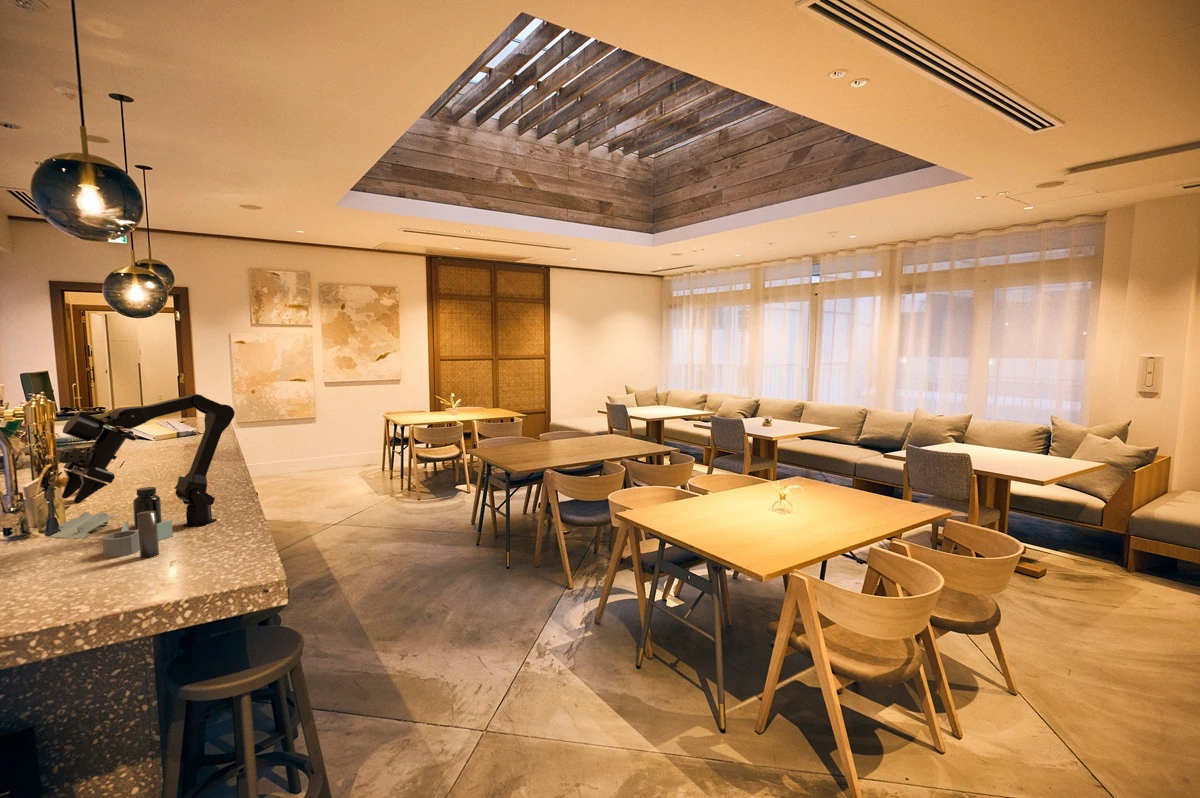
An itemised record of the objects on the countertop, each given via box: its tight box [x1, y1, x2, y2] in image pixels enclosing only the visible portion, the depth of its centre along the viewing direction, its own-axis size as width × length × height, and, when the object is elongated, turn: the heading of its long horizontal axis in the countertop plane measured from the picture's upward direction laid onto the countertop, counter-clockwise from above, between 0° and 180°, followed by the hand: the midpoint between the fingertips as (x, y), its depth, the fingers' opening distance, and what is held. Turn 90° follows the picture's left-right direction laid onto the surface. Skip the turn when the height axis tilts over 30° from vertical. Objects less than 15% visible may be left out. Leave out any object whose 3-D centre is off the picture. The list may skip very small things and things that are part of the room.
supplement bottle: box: [132, 486, 163, 529], centre depth 180 cm, size 7×7×12 cm
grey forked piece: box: [101, 519, 174, 558], centre depth 161 cm, size 18×13×5 cm
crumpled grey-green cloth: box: [42, 511, 116, 540], centre depth 174 cm, size 14×6×15 cm
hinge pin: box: [137, 511, 160, 559], centre depth 153 cm, size 4×4×12 cm
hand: (69, 500), depth 155 cm, fingers open, 9 cm apart
